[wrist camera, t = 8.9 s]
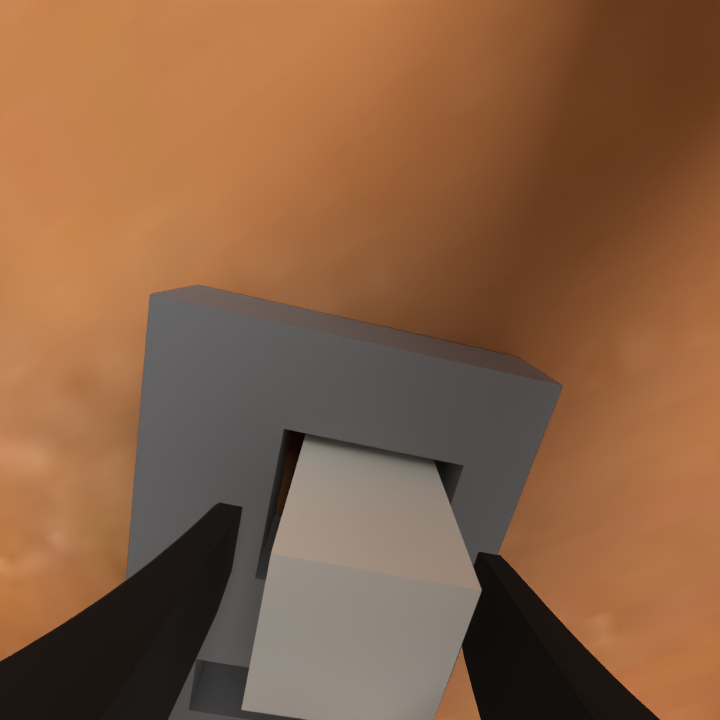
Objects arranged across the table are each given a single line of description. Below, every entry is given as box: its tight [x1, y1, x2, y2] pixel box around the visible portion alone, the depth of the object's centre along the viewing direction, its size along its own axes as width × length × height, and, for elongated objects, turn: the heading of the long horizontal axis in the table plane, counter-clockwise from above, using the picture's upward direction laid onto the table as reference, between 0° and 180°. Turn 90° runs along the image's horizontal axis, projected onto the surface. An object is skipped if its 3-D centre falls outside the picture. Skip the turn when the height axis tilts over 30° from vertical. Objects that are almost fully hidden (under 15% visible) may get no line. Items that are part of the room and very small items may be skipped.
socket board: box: [126, 285, 563, 720], centre depth 14 cm, size 18×11×3 cm, turn 167°
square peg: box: [241, 433, 482, 720], centre depth 11 cm, size 4×4×7 cm
